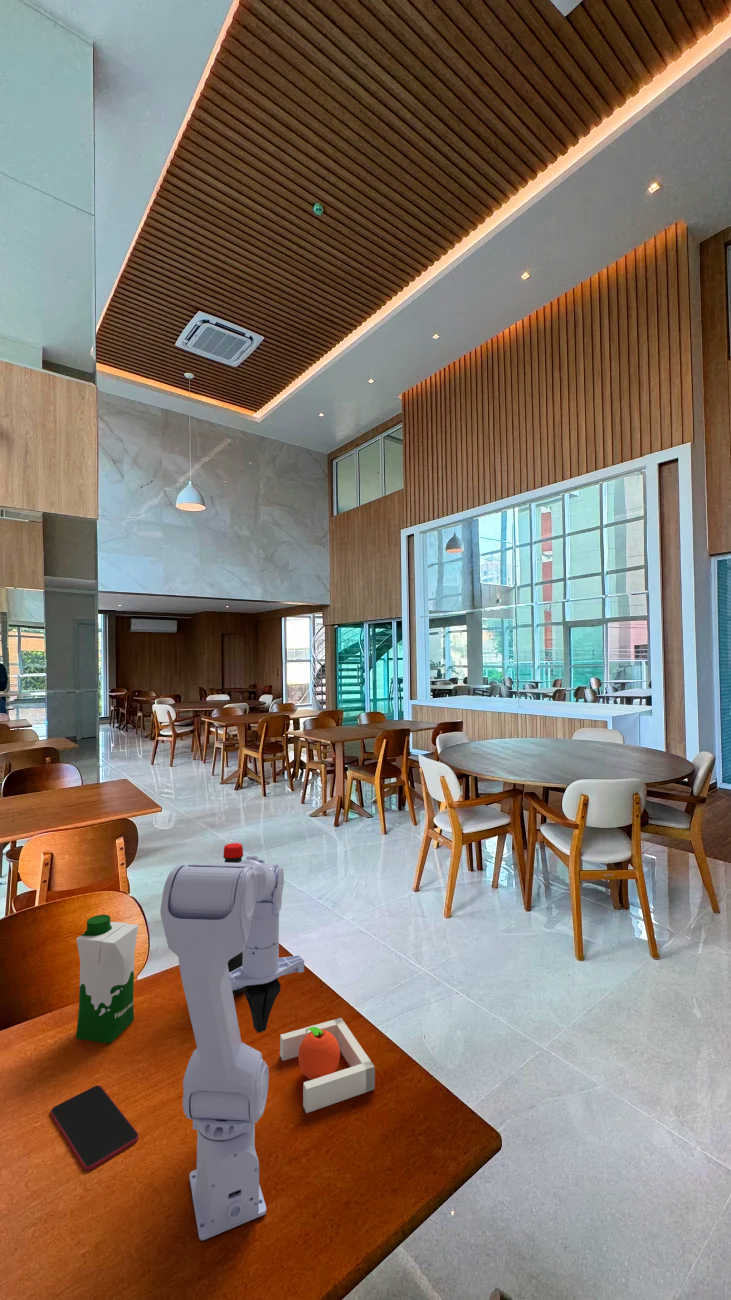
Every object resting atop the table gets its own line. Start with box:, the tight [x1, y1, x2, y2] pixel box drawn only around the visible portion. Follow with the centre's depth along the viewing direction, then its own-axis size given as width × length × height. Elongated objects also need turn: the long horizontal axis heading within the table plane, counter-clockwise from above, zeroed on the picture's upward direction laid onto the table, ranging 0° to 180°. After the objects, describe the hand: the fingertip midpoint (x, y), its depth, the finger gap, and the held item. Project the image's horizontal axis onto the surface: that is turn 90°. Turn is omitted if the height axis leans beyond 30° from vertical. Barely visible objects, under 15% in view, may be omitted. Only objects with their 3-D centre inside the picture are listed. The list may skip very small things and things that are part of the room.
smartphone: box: [50, 1085, 140, 1172], centre depth 80 cm, size 7×1×15 cm
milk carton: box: [75, 914, 139, 1045], centre depth 103 cm, size 9×9×20 cm
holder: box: [279, 1017, 376, 1114], centre depth 92 cm, size 14×12×4 cm
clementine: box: [297, 1026, 341, 1080], centre depth 91 cm, size 8×7×7 cm
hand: (259, 1028), depth 87 cm, fingers closed
